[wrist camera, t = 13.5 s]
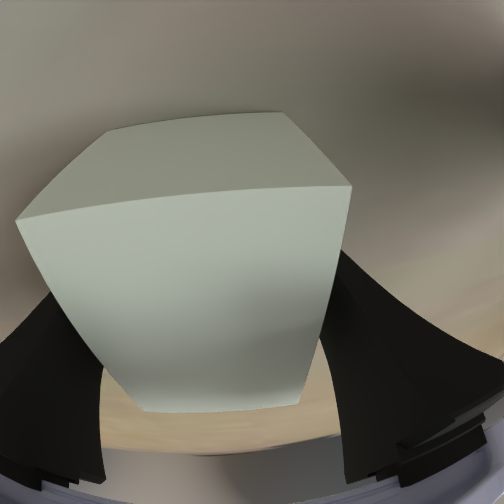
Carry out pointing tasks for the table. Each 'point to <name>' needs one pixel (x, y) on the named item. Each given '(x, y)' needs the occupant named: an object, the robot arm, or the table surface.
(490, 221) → the table surface
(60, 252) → the pale green block
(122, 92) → the table surface
